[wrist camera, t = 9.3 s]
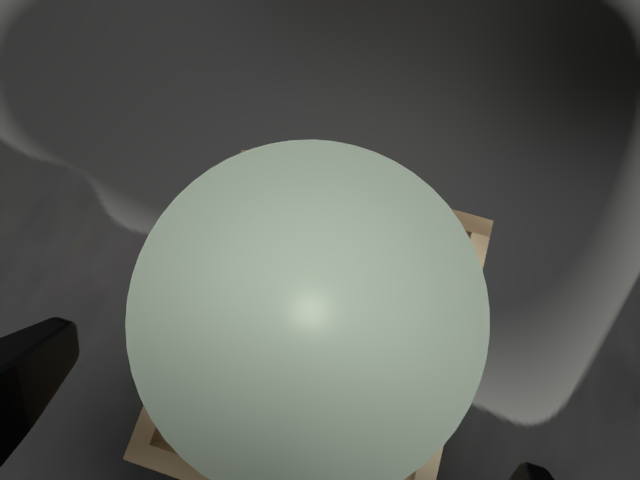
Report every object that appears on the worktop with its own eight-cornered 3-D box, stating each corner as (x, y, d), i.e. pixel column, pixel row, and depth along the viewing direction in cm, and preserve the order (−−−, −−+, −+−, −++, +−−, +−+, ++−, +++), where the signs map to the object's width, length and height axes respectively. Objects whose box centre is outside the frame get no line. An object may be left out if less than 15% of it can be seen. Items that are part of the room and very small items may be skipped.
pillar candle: (328, 436, 19) (335, 604, 6) (223, 345, 20) (49, 332, 7) (412, 325, 20) (560, 279, 7) (308, 243, 21) (285, 80, 8)
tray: (408, 544, 18) (417, 563, 17) (140, 449, 19) (122, 459, 18) (479, 231, 22) (493, 220, 20) (248, 165, 23) (241, 149, 21)
